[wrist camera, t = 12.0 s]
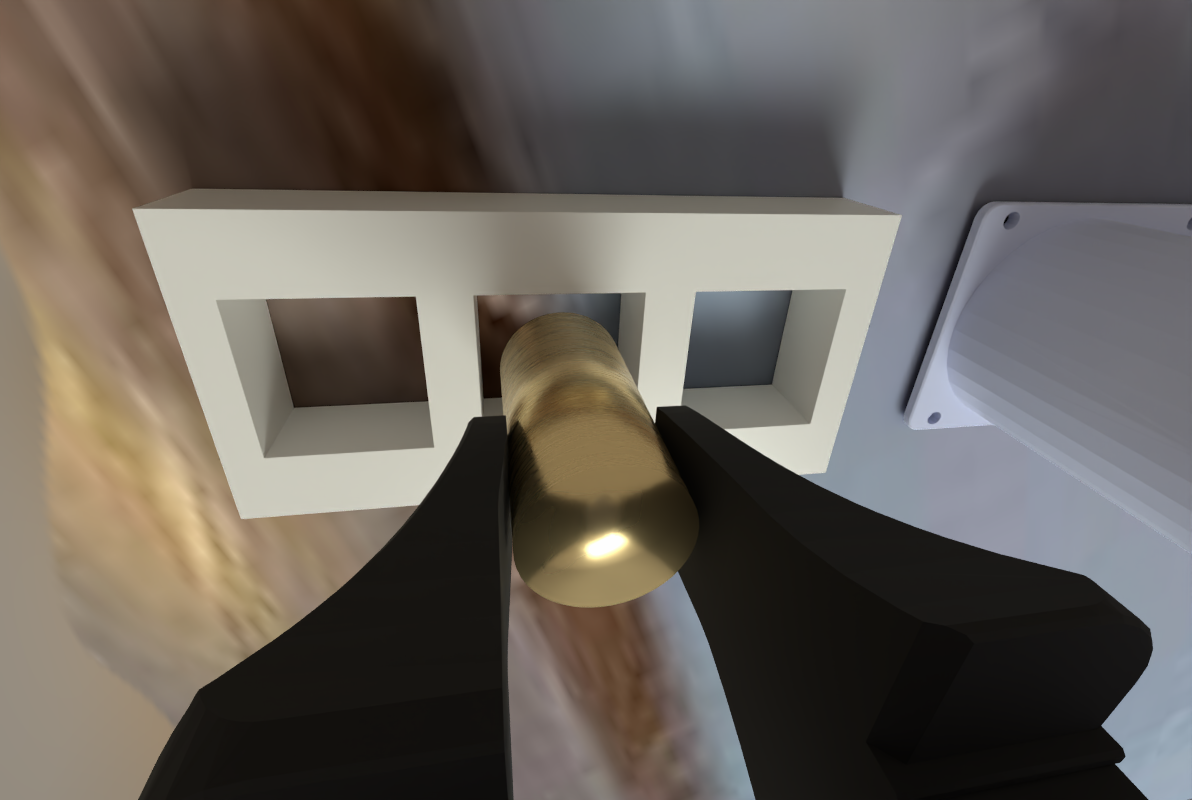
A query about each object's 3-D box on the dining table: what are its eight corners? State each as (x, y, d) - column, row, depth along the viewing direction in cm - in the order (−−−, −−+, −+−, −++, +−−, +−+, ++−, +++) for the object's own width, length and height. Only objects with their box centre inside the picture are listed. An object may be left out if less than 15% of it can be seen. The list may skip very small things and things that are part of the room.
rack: (844, 197, 16) (901, 215, 14) (787, 429, 20) (825, 472, 18) (191, 188, 13) (132, 208, 11) (272, 463, 17) (241, 519, 15)
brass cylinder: (624, 312, 13) (713, 462, 8) (614, 417, 15) (684, 598, 10) (498, 312, 13) (512, 474, 8) (501, 421, 14) (514, 615, 9)
